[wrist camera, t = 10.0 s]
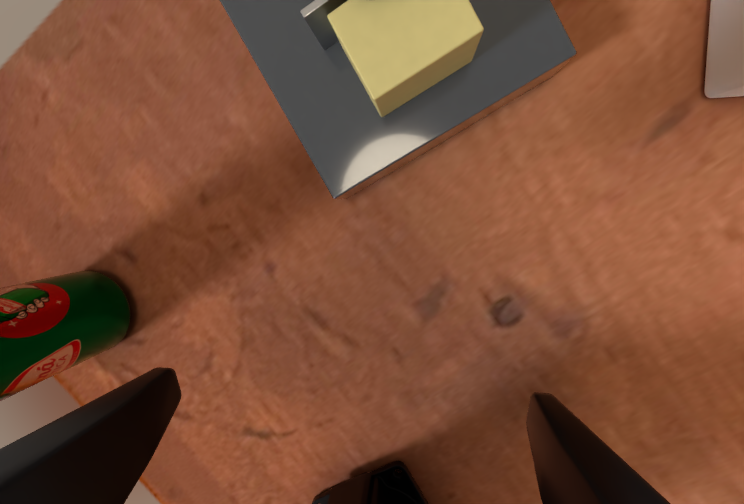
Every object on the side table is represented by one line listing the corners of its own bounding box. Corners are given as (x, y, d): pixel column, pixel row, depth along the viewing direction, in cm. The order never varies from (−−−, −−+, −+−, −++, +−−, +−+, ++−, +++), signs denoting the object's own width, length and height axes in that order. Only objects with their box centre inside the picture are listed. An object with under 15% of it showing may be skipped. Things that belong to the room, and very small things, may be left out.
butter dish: (551, 77, 18) (577, 53, 15) (345, 199, 20) (333, 199, 17) (433, -150, 17) (437, -222, 14) (232, 1, 19) (199, -34, 17)
